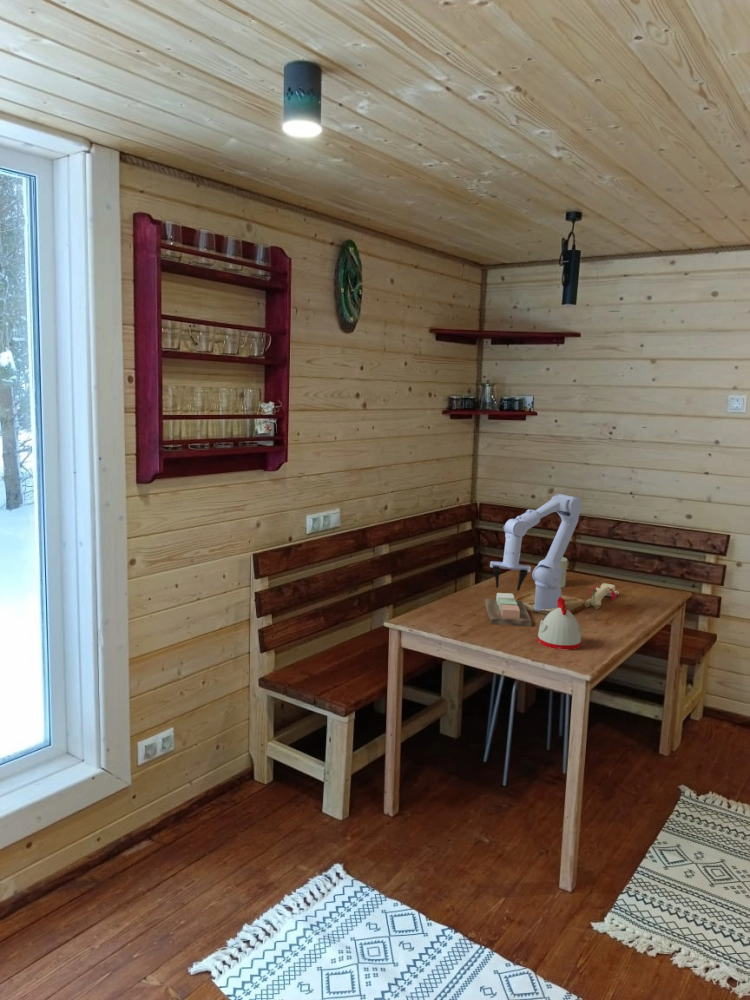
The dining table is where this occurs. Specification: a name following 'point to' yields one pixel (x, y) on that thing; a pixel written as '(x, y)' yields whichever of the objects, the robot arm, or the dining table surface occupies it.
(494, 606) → the brown tray
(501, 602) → the sage button
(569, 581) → the dining table surface
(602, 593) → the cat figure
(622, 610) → the dining table surface
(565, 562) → the pale green cup
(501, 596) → the cream button
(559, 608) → the kitchen timer
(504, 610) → the terracotta button
